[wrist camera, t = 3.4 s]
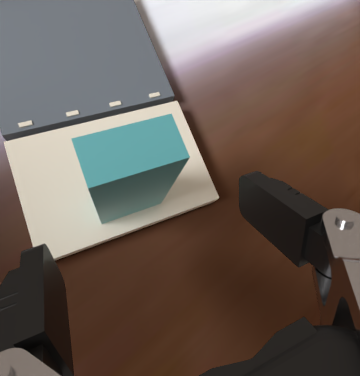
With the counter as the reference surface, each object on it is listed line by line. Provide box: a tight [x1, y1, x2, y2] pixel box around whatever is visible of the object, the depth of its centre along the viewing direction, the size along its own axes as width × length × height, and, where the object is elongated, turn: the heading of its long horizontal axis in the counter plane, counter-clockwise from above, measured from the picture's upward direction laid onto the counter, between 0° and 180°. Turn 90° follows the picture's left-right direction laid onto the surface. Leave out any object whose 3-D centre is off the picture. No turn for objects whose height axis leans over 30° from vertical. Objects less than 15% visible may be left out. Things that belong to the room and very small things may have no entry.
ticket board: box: [0, 0, 175, 141], centre depth 21 cm, size 12×14×1 cm
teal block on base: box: [4, 101, 219, 260], centre depth 15 cm, size 12×8×9 cm, turn 112°
